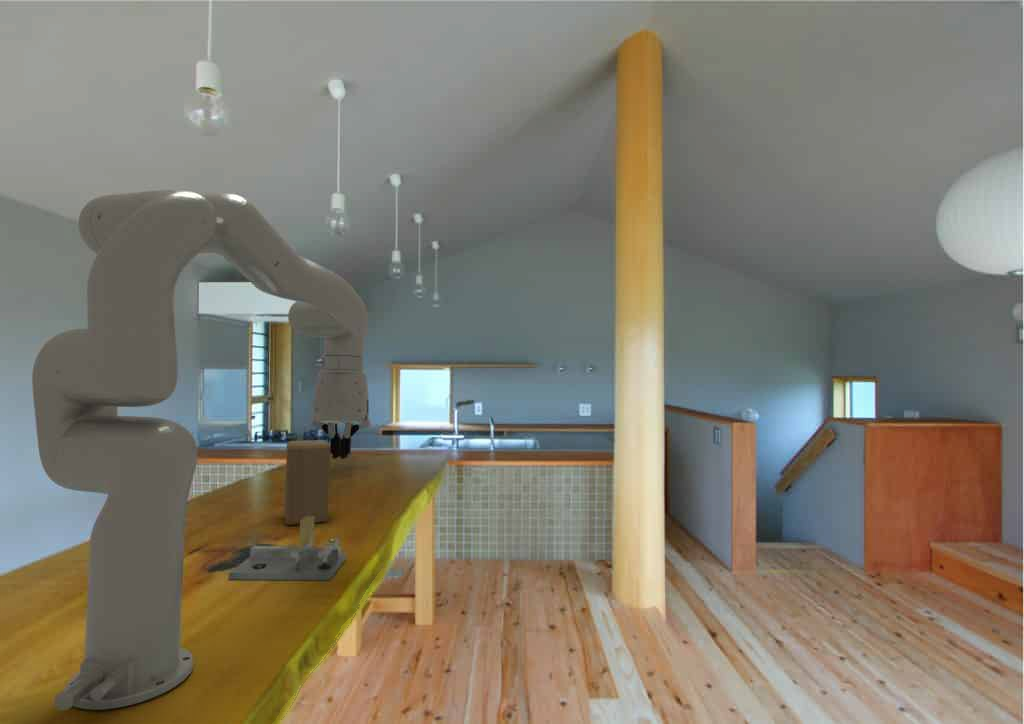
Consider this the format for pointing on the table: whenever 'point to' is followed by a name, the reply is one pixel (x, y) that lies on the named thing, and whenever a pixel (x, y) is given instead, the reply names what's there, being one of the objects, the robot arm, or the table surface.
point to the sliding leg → (304, 537)
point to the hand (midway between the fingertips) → (340, 457)
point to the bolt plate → (290, 563)
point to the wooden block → (307, 481)
